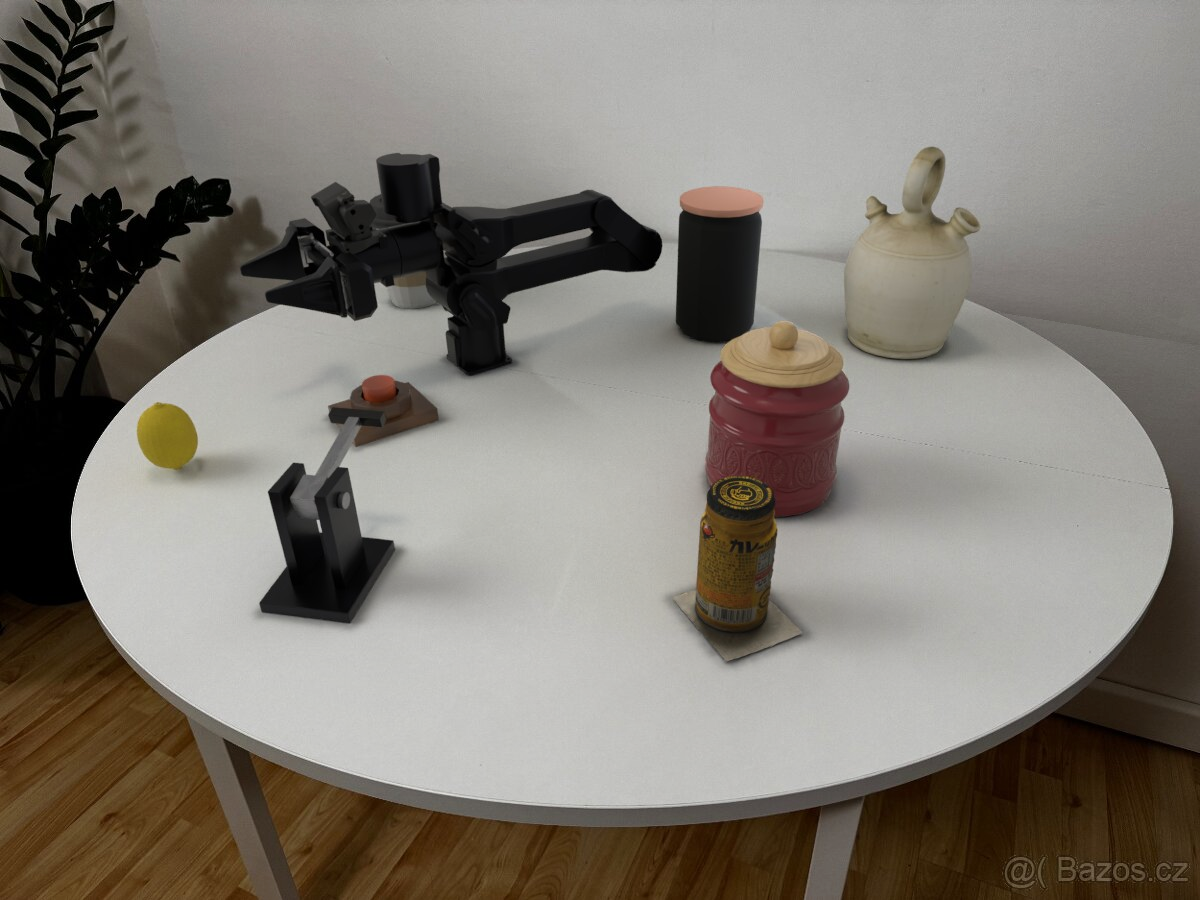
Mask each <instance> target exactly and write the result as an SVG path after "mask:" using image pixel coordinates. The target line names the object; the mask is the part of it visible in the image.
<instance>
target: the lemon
mask: <svg viewBox="0 0 1200 900" xmlns="http://www.w3.org/2000/svg"><path fill="white" fill-rule="evenodd" d="M136 425H137V426H136V439H137V443H138V446H139V448H140V450H141V452H142V454H143V455H144V457H145V458H146V459H147V460H148V461H149V462H150V463H151V464H153V465H154V466H157V467H159V468H162V469H169V470H170V469H172V470H174V471H179V470H181V469H182V468H183V467H184V466H185V465H186V464H189V462H190V461H192V459H193V458H194V456H195V455H196V452H197V450H198V444H199V436H198V432H197V429H196V426H195V423H194V422H193V420H192V419H191V417H190V415H189V414H188V413H187V412H186V411H185V410H184V409H183V408H182V407H180V406H178V405H176V404H172V403H167V402H160V401H157V402H154V403H153V404H152V405H151V406H149V407H148V408H146V409H145V410H144V411H143V412H142V413H141V415H140V416H139V417H138V420H137V424H136Z"/></svg>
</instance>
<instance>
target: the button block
mask: <svg viewBox="0 0 1200 900" xmlns="http://www.w3.org/2000/svg"><path fill="white" fill-rule="evenodd" d="M394 381H395V387H396V396H395V397H394V398H392V399H390V400H387V401H384V402H369V401H366V400H365V399H364V394H363V388H362V384H360V385H359V386H358V387H357V386H356V388H354V389H353V390H351V393H350V397H349V398H348V399H346V400H342V401H339V402H335V403H333V404H328V406H327V409H328V413H329V412H330V411H331V409H332V407H338V408H350V409H362V410H374V411H383V412H384V414H385V418H386V421H385V423H384V425H383V427H382V428H380V427H369V426H361V428H360V430H359V431H358V433H357V435H356V437H355V439H354V441H353V442H352V445H353V446H354V447H355V448H357V447H360V446H363V445H366V444H370V443H371V442H375V441H379V440H382V439H385V438H388V437H391V436H394V435H397V434H400V433H404V432H406V431H410V430H412V429H416V428H419V427H422V426H425V425H429V424H433V423H436V422H439V420H440V419H439V411H438V408H437V407H436V406H435V405H434V404H433V403H432V402H431V401H430V400H428V398H426V396H425V395H423V393H421V391H419V390H418V389H417V388H416V387H414V386H413V384H412V383H410V382H409V381H407V382H403V381H399V380H396V379H394ZM335 425H336V426H337V428H338V429H340V430H341V429H342V427H343V425H344V424H335Z"/></svg>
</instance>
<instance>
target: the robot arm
mask: <svg viewBox="0 0 1200 900" xmlns="http://www.w3.org/2000/svg"><path fill="white" fill-rule="evenodd" d="M375 162H376V170H377V176H378V183H379V192H380V194H381V198H382V205H383V211H384V212H385V213H386V214H389V215H393V217H394V220H395V221H396V222H400V223H407V224H402V225H397V226H392V227H388V228H382V229H378V230H377V229H376V228H374V227H373V226H371V223H372V222H373V220H374V218H375V217H376V215H377V214H376V212H375V211H374V209H373V207H372V205H371V204H370V201H367V200H365V199H355V195H354V194H352V193H351V191H349V189H348V188H347V187H345V186H343V185H341V184H340V183H338V182H337V181H334V182H332V183H331V184H329V185H327V186H326V187H324V188H323V189H321V190H319V191H317V192H316V193H314V194H313V195H311V196H310V199H311V201H312V203H313V205H314V206H315V207H317V208H318V209H319V211H320V213H321V215H322V217H323V219H324V220H325V221H326V223H327V225H328V227H329V229H325V231H324V230H323V229H321V228H319V227H318V226H317V225H316V224H315V223H313V222H312V221H310V220H309V219H307V218H306V217H304V218H299V219H293V220H289V222H288V226H287V227H286V228H285V229H284V230H285V234H284V236H283V238H282V240H281V242H280V243H279V244H277V245H275V246H274V247H272V248H271V249H268V250H267V251H264V252H263V253H261V254H259V255H257V256H256V257H254V258H252V259H250V260H248V261H246V262H243V264H241V265H239V271H240V275H242V277H249V278H257V279H266V280H267V279H269V280H280V281H281V280H282V281H288V282H287V283H282V284H280V285H278V286H276V287H273V288H271V289H268V290H266V291H265V292H264V297H265V300H266V302H267V303H269V304H274V305H280V306H287V307H292V308H297V309H304V310H307V311H315V312H319V313H324V314H329V315H333V316H339V317H341V318H342V319H343V318H344V319H346V318H348V317H349V318H350V319H351V320H352V321H354V322H357V321H361V320H364V319H370V318H372V317H373V315H374V313H375V312H376V310H377V309H378V308H379V305H378V299H377V294H376V293H377V292H376V286H375V284H378V283H380V284H381V285H383V286H384V287H385V288H387V287H389V286H393V285H394V279H396V278H400V277H404V276H409V275H413V274H417V273H421V272H426V288H427V292H428V293H429V295H430V296H431V298H433V299H434V300H436V301H437V302H436V303H438V304H440V305H441V307H442V309H443V311H445V312H448V313H449V314H451V315H452V316H449V317H447V327H448V330H446V331H445V340H446V341H445V342H446V349H447V353H446V359H447V360H448V361H449V362H450V363H452V365H454V366H455V367H457V369H459V370H460V371H462V372H463V373H464V374H465V375H466V376H474V375H477V374H480V373H483V372H486V371H490V370H493V369H496V368H499V367H504V366H506V365H509V364H512V363H513V358H512V357H511V356H509V355H508V354H507V350H506V340H505V339H506V338H505V326H504V325H506V324H507V323H508V321H509V317H510V312H511V309H512V308H511V306H510V305H508V304H507V302H504V299H506V298H507V296H510V295H511V294H515V293H519V292H523V291H527V290H531V289H534V288H538V287H543V286H545V285H550V284H553V283H557V282H561V281H565V280H568V279H573V278H576V277H581V276H584V275H589V274H591V273H595V272H599V271H609V272H617V273H618V272H619V273H641V272H647V271H650V270H652V269H653V268H654V267H656V266H657V262H658V261H659V260H660V257H661V255H662V253H663V252H662V251H663V239H662V237H661V234H660V233H659V232H658V231H657V230H656V229H653V228H652V227H649V226H647V225H645V224H642V223H640V222H639V221H637V220H636V219H635V218H634V217H632V216H631V215H630V214H628V213H627V212H626V211H624V209H622V208H621V207H620V206H619V205H618V203H616V202H615V201H614V199H612V197H610V196H609V195H606V194H603V193H601V192H598V191H596V190H594V189H585V190H582V191H580V192H579V193H574V194H569V195H564V196H560V197H555V198H549V199H545V200H540V201H536V202H531V203H526V204H521V205H518V206H511V207H508V208H496V207H493V208H492V207H487V206H486V207H485V206H453V207H452V206H450V205H448V204H446V203H445V202H443V197H442V189H441V179H440V174H441V173H440V172H441V165H440V158H439V157H438V156H436V155H435V154H431V153H427V154H426V153H425V154H418V153H402V154H401V153H400V152H394V153H393V152H392V153H388V154H387V153H386V154H384V155H381V156H379V157H377V158H376V159H375ZM587 229H589V230H590V231H591V232H592V233H590V235H588V236H586V237H582V238H578V239H574V240H569V241H565V242H560V243H557V244H553V245H547V246H544V247H543V246H542V247H539V248H535V249H531V250H527V251H522V252H517V253H515V254H514V253H513V254H511V255H508V253H509V252H511V251H512V249H514V248H516V247H518V246H521V245H524V244H527V243H531V242H536V241H540V240H545V239H549V238H553V237H559V236H561V235H566V234H569V233H570V234H571V233H574V232H579V231H582V230H587ZM327 242H328V245H327Z"/></svg>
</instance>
